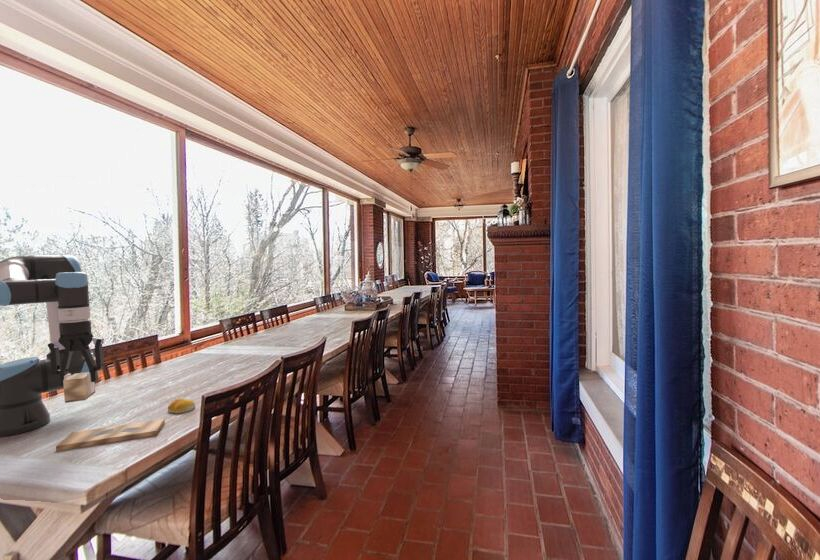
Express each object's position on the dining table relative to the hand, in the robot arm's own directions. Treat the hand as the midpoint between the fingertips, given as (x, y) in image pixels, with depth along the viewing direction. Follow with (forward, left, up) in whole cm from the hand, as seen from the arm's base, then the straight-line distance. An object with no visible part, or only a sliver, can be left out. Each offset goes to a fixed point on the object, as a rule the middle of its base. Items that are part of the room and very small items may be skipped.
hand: (80, 393), depth 121 cm
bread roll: (+24, +16, -16) cm, 33 cm away
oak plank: (+8, -1, -15) cm, 17 cm away
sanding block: (0, 0, -1) cm, 1 cm away
